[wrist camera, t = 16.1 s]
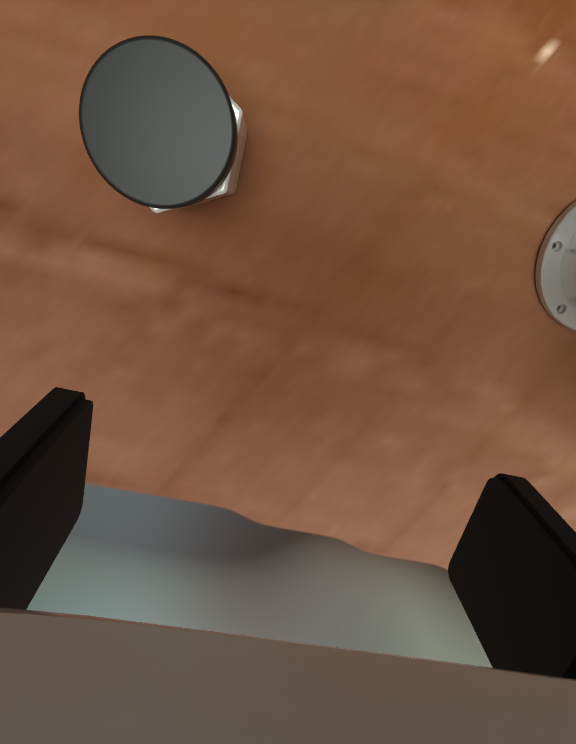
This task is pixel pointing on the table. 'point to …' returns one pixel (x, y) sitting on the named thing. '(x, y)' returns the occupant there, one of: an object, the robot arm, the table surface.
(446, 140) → the table surface
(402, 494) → the table surface
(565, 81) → the table surface
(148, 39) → the jar
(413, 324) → the table surface
